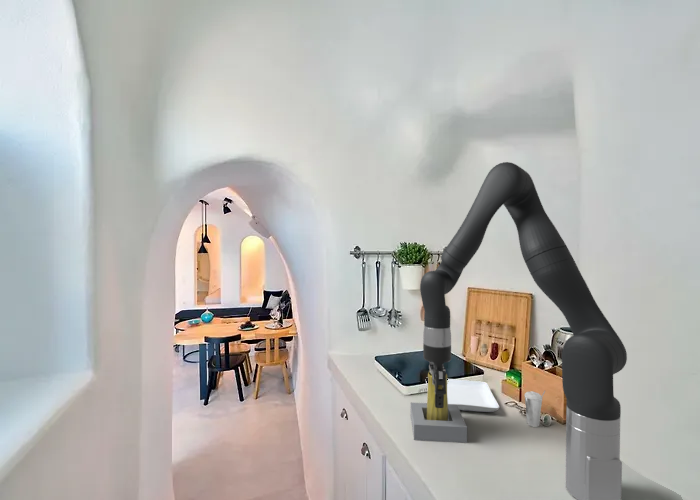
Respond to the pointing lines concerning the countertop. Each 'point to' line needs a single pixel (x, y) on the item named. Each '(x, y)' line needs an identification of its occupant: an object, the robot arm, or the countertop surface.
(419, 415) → the block
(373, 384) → the countertop surface
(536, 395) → the milkshake
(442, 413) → the vase
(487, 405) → the salad plate
